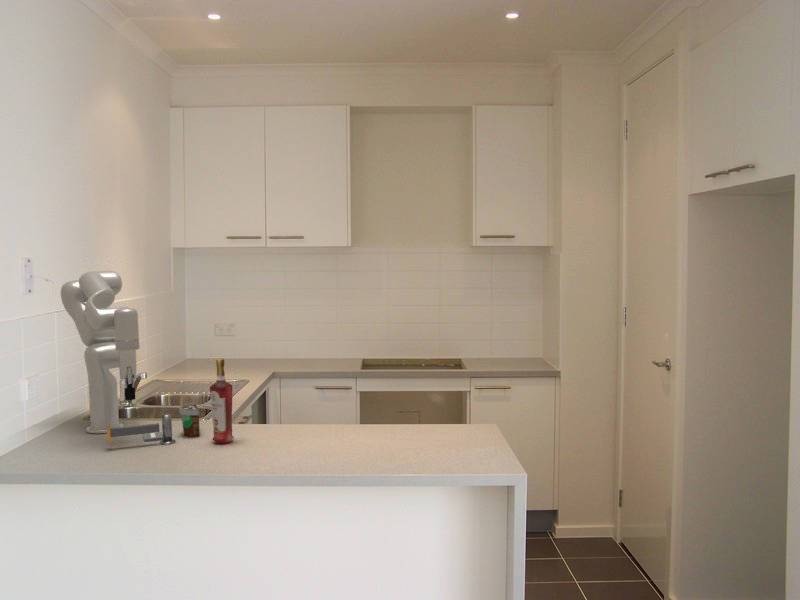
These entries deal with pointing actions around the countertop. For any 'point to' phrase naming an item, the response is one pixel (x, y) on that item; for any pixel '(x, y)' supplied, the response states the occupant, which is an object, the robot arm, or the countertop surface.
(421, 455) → the countertop surface
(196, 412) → the food container
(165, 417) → the pivot post
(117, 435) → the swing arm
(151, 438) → the label tile
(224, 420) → the liquor
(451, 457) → the countertop surface
